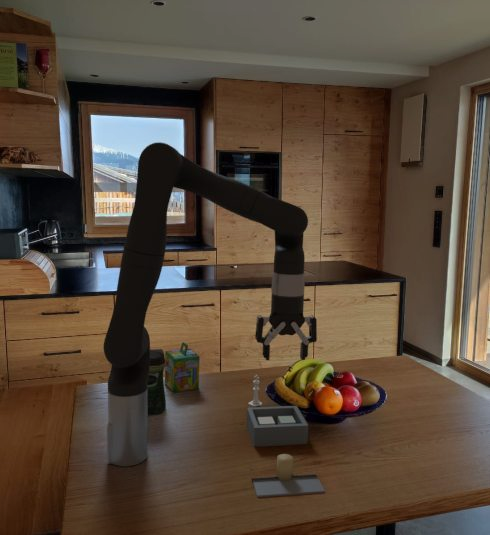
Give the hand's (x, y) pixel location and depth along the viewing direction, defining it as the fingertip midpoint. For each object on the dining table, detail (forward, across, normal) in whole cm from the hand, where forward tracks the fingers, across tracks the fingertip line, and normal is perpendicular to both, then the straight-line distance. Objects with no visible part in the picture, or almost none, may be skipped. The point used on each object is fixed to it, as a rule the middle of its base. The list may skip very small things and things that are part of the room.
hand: (285, 359), depth 117 cm
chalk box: (+26, -24, +49) cm, 60 cm away
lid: (+26, -1, -7) cm, 27 cm away
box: (+26, +1, +12) cm, 28 cm away
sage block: (+25, +4, +12) cm, 28 cm away
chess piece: (+26, -2, +32) cm, 41 cm away
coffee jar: (+26, -33, +31) cm, 52 cm away
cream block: (+25, -2, +12) cm, 27 cm away
